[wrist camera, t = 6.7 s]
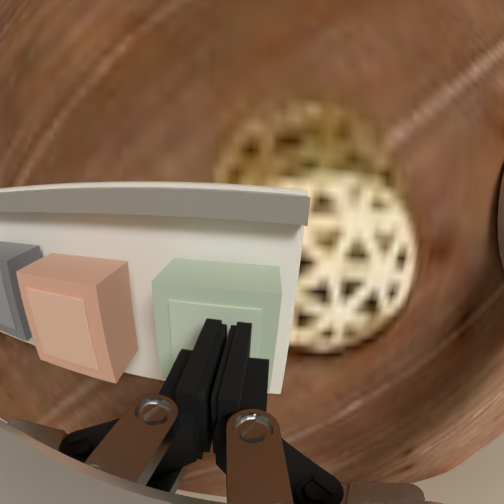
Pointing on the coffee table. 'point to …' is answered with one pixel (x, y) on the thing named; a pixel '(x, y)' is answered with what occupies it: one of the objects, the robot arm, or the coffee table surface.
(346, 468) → the coffee table surface
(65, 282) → the key terracotta
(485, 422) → the coffee table surface
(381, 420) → the coffee table surface
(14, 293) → the key charcoal
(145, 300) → the keyboard base
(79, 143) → the coffee table surface
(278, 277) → the key sage
